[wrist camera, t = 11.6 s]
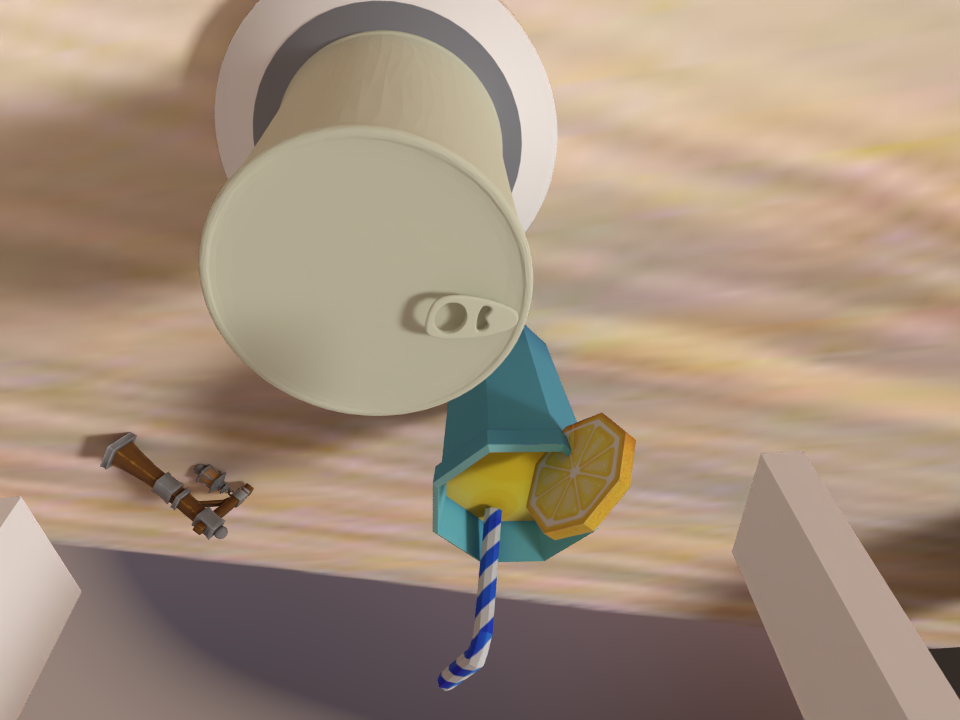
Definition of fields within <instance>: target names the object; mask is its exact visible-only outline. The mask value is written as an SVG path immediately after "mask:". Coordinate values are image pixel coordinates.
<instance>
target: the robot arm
mask: <svg viewBox="0 0 960 720" xmlns="http://www.w3.org/2000/svg"><path fill="white" fill-rule="evenodd" d="M732 553H733V555H734V557H735V560H736V562H737V564H738V567H739V569H740V571H741V574H742V576H743V578H744V581H745V583H746V585H747V588H748V590H749V592H750V595H751V597H752V599H753V602H754V604H755V606H756V609H757V611H758V613H759V616H760V618H761V620H762V623H763V625H764V627H765V630H766V632H767V634H768V637H769V639H770V641H771V643H772V646H773V648H774V650H775V653H776V655H777V657H778V660H779V662H780V664H781V666H782V669H783V671H784V674H785V676H786V678H787V680H788V683H789V685H790V687H791V690H792V692H793V695H794V697H795V699H796V702H797V704H798V706H799V709H800V711H801V713H802V716H803V718H804V720H960V647H956V648H940V649H927V647H926V645H925V644H924V642H923V641H922V639H921V637H920V636H919V634H918V633H917V631H916V629H915V628H914V626H913V625H912V623H911V622H910V620H909V618H908V617H907V615H906V614H905V612H904V610H903V609H902V607H901V606H900V604H899V602H898V601H897V599H896V598H895V596H894V595H893V593H892V591H891V590H890V588H889V587H888V585H887V583H886V582H885V580H884V579H883V577H882V575H881V574H880V572H879V571H878V569H877V568H876V566H875V564H874V563H873V561H872V560H871V558H870V556H869V555H868V553H867V552H866V550H865V548H864V547H863V545H862V544H861V542H860V540H859V539H858V537H857V536H856V534H855V533H854V531H853V529H852V528H851V526H850V525H849V523H848V521H847V520H846V518H845V517H844V515H843V513H842V512H841V510H840V509H839V507H838V506H837V504H836V502H835V501H834V499H833V498H832V496H831V494H830V493H829V491H828V490H827V488H826V486H825V485H824V483H823V482H822V480H821V479H820V477H819V475H818V474H817V472H816V471H815V469H814V467H813V466H812V464H811V463H810V461H809V459H808V458H807V456H806V455H805V453H804V451H796V452H779V453H762V454H761V455H760V459H759V462H758V465H757V469H756V472H755V476H754V479H753V482H752V486H751V489H750V493H749V496H748V499H747V503H746V506H745V509H744V513H743V516H742V520H741V523H740V526H739V530H738V533H737V537H736V540H735V543H734V547H733V550H732ZM80 594H81V590H80V588H79V587H78V585H77V584H76V582H75V581H74V579H73V577H72V576H71V574H70V573H69V571H68V569H67V568H66V566H65V565H64V563H63V562H62V560H61V559H60V557H59V555H58V554H57V552H56V551H55V549H54V548H53V546H52V544H51V543H50V541H49V540H48V538H47V537H46V535H45V533H44V532H43V530H42V529H41V527H40V526H39V524H38V523H37V521H36V519H35V518H34V516H33V515H32V513H31V512H30V510H29V508H28V507H27V505H26V504H25V502H24V501H23V499H22V498H21V497H10V498H0V720H17V719H18V717H19V715H20V713H21V711H22V709H23V707H24V705H25V703H26V701H27V699H28V697H29V695H30V693H31V691H32V689H33V687H34V685H35V683H36V681H37V679H38V677H39V675H40V673H41V671H42V669H43V667H44V665H45V663H46V661H47V659H48V657H49V655H50V653H51V651H52V649H53V647H54V645H55V643H56V642H57V640H58V638H59V636H60V633H61V631H62V629H63V628H64V625H65V624H66V622H67V619H68V618H69V616H70V613H71V611H72V610H73V608H74V606H75V604H76V602H77V599H78V597H79V596H80Z"/></svg>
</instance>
